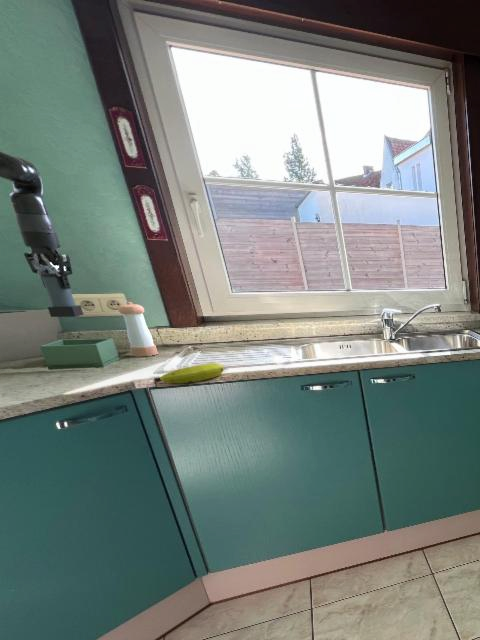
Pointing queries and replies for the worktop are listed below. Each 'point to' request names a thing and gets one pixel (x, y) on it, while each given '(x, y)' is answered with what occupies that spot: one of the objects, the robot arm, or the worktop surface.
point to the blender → (60, 298)
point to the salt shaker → (137, 330)
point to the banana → (192, 374)
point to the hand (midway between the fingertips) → (57, 288)
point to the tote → (79, 353)
